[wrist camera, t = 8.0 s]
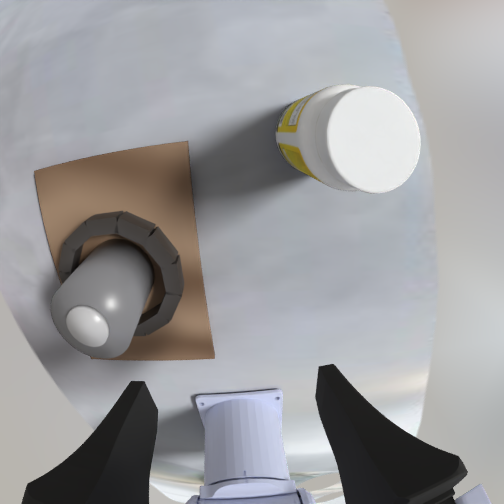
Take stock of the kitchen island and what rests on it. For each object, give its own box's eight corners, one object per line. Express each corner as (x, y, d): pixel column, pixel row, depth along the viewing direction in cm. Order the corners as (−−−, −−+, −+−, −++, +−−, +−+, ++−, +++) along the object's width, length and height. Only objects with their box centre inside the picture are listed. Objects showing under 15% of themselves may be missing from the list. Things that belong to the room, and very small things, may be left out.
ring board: (214, 353, 23) (214, 371, 21) (93, 354, 22) (86, 369, 20) (188, 140, 16) (183, 142, 14) (38, 169, 16) (22, 174, 14)
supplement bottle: (348, 171, 18) (425, 204, 10) (276, 174, 18) (316, 210, 10) (345, 98, 16) (426, 85, 8) (271, 97, 16) (310, 70, 8)
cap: (161, 300, 20) (140, 364, 14) (100, 303, 19) (67, 361, 14) (147, 234, 18) (114, 284, 12) (83, 242, 17) (35, 288, 12)
